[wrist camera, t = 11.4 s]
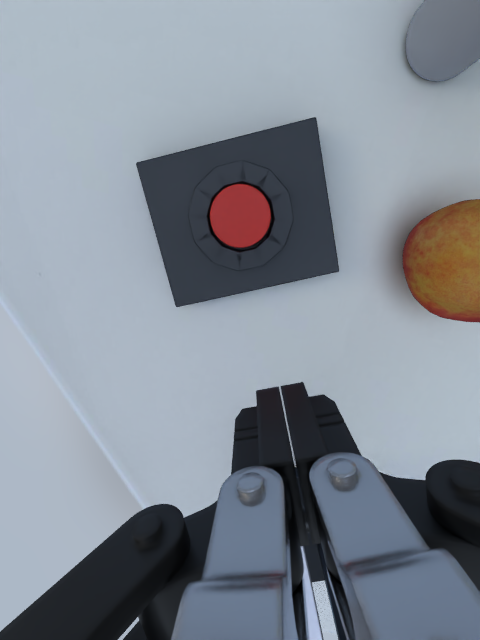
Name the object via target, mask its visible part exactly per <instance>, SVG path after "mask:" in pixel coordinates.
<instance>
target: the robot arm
mask: <svg viewBox="0 0 480 640" xmlns="http://www.w3.org/2000/svg"><path fill="white" fill-rule="evenodd" d="M281 391H282V396H283V401H284V406H285V411H286V416H287V421H288V426H289V431H290V436H291V441H292V446H293V451H294V456H295V461H296V466H297V471H298V476H299V481H300V486H301V491H302V496H303V501H304V506H305V511H306V515H307V520H308V525H309V530H310V535H311V540H312V545H313V544H320V543H321V545H322V549H323V554H324V558H325V562H326V568H327V573H328V578H329V582H330V586H331V589H332V592H333V596H334V599H335V602H336V605H337V609H338V612H339V615H340V618H341V622H342V625H343V628H344V632H345V635H346V638H347V640H480V463H477V462H472V461H467V460H447V461H442V462H439V463H437V464H435V465H433V466H432V467H431V468H430V469H429V470H428V472H427V474H426V480H415V479H404V478H396V477H392V476H389V475H386V474H383V473H381V472H379V471H378V470H377V468H376V467H375V466H374V464H373V463H372V462H370V461H369V460H368V459H366V458H364V457H362V456H361V454H360V452H359V450H358V448H357V446H356V444H355V442H354V440H353V438H352V436H351V434H350V432H349V430H348V428H347V426H346V424H345V423H344V420H343V418H342V416H341V414H340V412H339V410H338V408H337V406H336V404H335V402H334V401H333V400H331V399H330V398H328V397H326V396H325V395H318V396H312V397H308V394H307V391H306V389H305V386H304V383H303V382H301V383H295V384H290V385H284V386H281ZM256 396H257V406H256V407H251V408H245V409H242V410H241V412H240V413H239V415H238V416H237V418H236V419H235V432H234V445H233V458H232V472H231V476H229V477H228V478H227V479H226V481H225V482H224V483H223V485H222V487H221V489H220V493H219V498H218V500H217V501H216V502H215V503H214V504H212V505H211V506H209V507H207V508H205V509H203V510H201V511H198V512H196V513H194V514H192V515H189V516H187V517H185V518H183V515H182V513H181V511H180V510H179V509H178V508H177V507H175V506H173V505H169V504H159V505H154V506H151V507H148V508H146V509H144V510H142V511H140V512H138V513H137V514H135V515H134V516H133V517H131V518H130V519H129V520H128V521H127V522H125V523H124V524H123V525H122V526H121V527H120V528H119V529H117V530H116V531H115V532H114V533H113V534H112V535H111V536H109V537H108V538H107V539H106V540H105V541H104V542H103V543H102V544H100V545H99V546H98V547H97V548H96V549H95V550H93V551H92V552H91V553H90V554H89V555H88V556H87V557H85V558H84V559H83V560H82V561H81V562H80V563H79V564H77V565H76V566H75V567H74V568H73V569H72V570H71V571H70V572H68V573H67V574H66V575H65V576H64V577H63V578H61V579H60V580H59V581H58V582H57V583H56V584H54V585H53V586H52V587H51V588H50V589H49V590H48V591H46V592H45V593H44V594H43V595H42V596H41V597H40V598H38V599H37V600H36V601H35V602H34V603H33V604H31V605H30V606H29V607H28V608H27V609H26V610H25V611H23V612H22V613H21V614H20V615H19V616H18V617H17V618H16V619H14V620H13V621H12V622H11V623H10V624H9V625H7V626H6V627H5V628H4V629H3V630H2V631H1V632H0V640H118V639H119V637H120V636H121V635H122V634H123V633H124V632H125V631H126V629H127V628H128V627H129V626H130V625H131V624H132V622H134V620H135V619H136V618H137V617H139V622H138V623H137V624H136V625H135V626H134V627H133V628H132V630H131V631H130V632H129V633H128V634H127V635H126V636H125V638H124V639H123V640H309V629H308V617H307V605H306V593H305V583H304V578H303V573H304V563H303V557H302V551H301V546H308V545H309V540H308V535H307V529H306V524H305V519H304V514H303V509H302V503H301V498H300V493H299V488H298V483H297V477H296V472H295V467H294V462H293V457H292V451H291V446H290V441H289V436H288V431H287V426H286V421H285V416H284V411H283V406H282V401H281V396H280V391H279V387H273V388H268V389H262V390H257V391H256Z"/></svg>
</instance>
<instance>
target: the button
mask: <svg viewBox="0 0 480 640" xmlns="http://www.w3.org/2000/svg"><path fill="white" fill-rule="evenodd" d="M270 220H271V211H270V207H269V204H268V201H267V199H266V198H265V196H264V195H263V194H262V193H261V192H260V191H259V190H258V189H256V188H254V187H252V186H250V185H246V184H235V185H231V186H228V187H226V188H225V189H223V190H222V191H221V192H220V193H219V194H218V195H217V196H216V198H215V199H214V201H213V203H212V206H211V210H210V222H211V226H212V229H213V231H214V233H215V234H216V236H217V237H218V238H219V239H220V240H221V241H222V242H224V243H225V244H227V245H229V246H232V247H238V248H243V247H248V246H251V245H254V244H255V243H257V242H258V241H260V240H261V239H262V238H263V237H264V235H265V234H266V232H267V230H268V228H269V225H270Z"/></svg>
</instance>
